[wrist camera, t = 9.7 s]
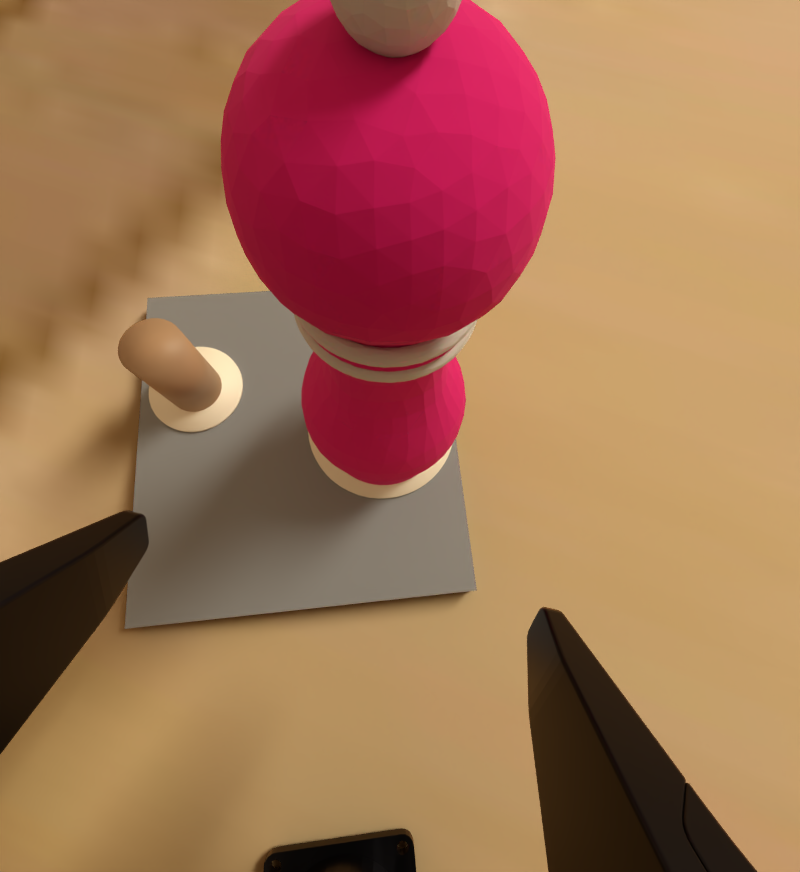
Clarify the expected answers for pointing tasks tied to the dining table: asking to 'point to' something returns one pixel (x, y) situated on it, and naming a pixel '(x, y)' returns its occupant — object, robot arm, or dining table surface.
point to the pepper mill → (386, 207)
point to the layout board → (265, 480)
